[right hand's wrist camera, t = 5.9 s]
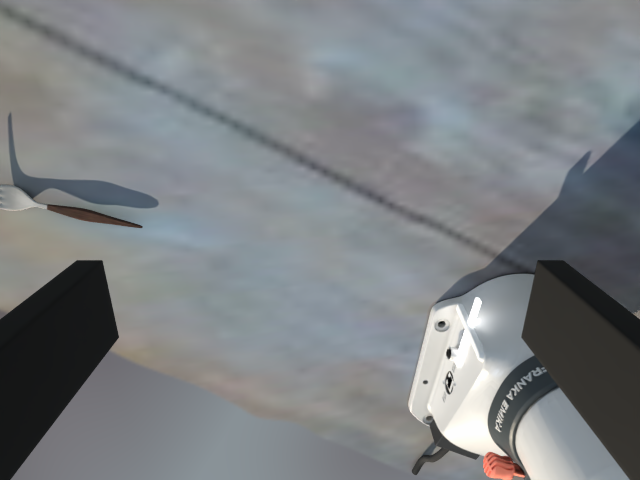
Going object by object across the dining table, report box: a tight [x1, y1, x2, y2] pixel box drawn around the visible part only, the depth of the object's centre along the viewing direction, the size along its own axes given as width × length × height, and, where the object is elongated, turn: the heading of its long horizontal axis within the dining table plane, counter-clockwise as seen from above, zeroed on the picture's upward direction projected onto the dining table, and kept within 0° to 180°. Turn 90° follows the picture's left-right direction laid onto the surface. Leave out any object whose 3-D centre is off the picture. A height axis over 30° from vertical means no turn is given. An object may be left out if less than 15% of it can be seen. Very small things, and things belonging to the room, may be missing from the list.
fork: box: [0, 184, 142, 228], centre depth 40 cm, size 3×16×2 cm, turn 77°
